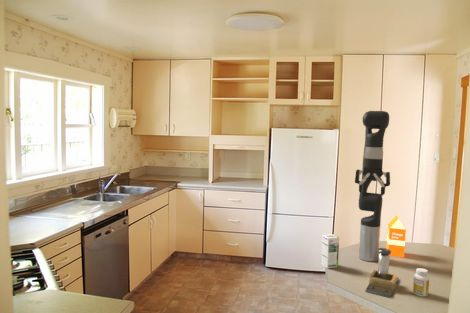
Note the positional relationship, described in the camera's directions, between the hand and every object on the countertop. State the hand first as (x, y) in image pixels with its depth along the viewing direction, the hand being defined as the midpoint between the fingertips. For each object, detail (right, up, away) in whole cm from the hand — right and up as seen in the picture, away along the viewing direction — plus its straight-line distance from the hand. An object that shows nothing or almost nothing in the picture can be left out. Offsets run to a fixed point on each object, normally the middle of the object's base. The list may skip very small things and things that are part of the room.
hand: (371, 194), depth 157 cm
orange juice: (+24, -35, +31) cm, 53 cm away
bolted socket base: (+1, -37, -8) cm, 38 cm away
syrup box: (-15, -35, +12) cm, 40 cm away
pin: (+1, -37, -8) cm, 38 cm away
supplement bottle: (+14, -38, -15) cm, 43 cm away
